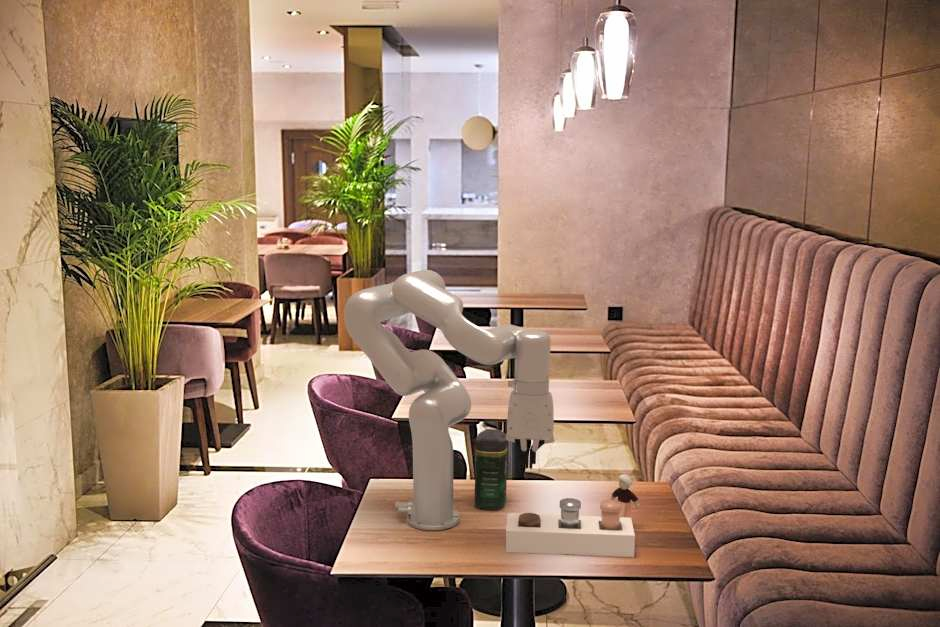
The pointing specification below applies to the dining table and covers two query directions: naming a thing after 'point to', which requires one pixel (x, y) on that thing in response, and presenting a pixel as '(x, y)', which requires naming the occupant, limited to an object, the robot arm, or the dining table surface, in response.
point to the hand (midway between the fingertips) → (528, 466)
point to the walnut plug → (529, 520)
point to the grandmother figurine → (625, 496)
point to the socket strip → (570, 537)
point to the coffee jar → (490, 469)
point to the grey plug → (570, 513)
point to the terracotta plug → (610, 514)
